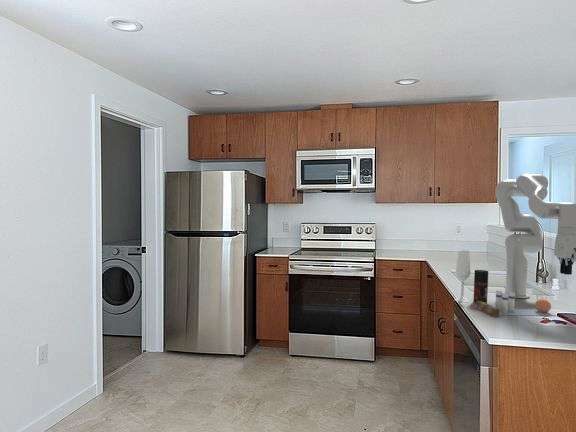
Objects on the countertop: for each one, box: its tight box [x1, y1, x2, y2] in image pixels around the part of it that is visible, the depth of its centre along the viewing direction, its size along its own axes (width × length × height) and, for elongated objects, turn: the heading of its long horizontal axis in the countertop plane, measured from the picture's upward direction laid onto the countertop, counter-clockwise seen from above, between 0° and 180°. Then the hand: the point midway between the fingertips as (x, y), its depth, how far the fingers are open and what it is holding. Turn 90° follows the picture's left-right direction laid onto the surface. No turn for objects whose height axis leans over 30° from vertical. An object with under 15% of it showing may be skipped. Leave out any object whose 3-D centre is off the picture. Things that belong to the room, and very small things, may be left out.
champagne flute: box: [454, 249, 471, 303], centre depth 216 cm, size 7×7×24 cm
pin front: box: [508, 292, 516, 312], centre depth 194 cm, size 2×2×8 cm
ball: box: [534, 298, 552, 313], centre depth 195 cm, size 6×6×6 cm
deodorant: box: [472, 269, 489, 304], centre depth 212 cm, size 6×6×15 cm
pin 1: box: [495, 290, 503, 311], centre depth 197 cm, size 2×2×8 cm
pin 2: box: [501, 293, 509, 314], centre depth 192 cm, size 2×2×8 cm
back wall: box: [475, 301, 500, 318], centre depth 194 cm, size 16×2×3 cm, turn 3°
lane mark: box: [499, 308, 556, 317], centre depth 195 cm, size 11×25×1 cm, turn 92°
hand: (565, 273), depth 195 cm, fingers closed
